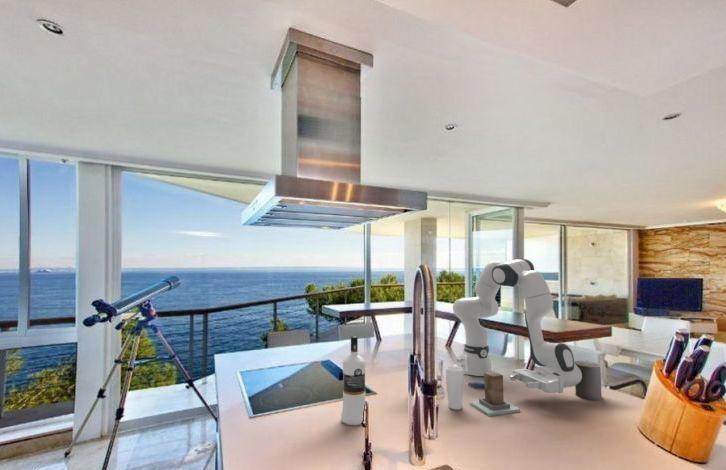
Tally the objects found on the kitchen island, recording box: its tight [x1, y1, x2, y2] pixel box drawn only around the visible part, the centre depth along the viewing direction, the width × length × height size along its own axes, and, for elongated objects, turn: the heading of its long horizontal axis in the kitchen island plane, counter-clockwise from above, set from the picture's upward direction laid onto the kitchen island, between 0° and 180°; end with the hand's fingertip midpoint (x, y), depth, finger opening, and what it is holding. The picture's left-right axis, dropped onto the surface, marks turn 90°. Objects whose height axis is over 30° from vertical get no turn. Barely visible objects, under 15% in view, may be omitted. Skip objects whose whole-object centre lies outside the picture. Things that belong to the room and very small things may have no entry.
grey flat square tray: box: [469, 397, 521, 417], centre depth 143 cm, size 12×14×2 cm
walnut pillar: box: [483, 371, 505, 405], centre depth 144 cm, size 5×5×12 cm
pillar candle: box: [574, 360, 603, 401], centre depth 156 cm, size 10×10×15 cm
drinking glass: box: [445, 365, 465, 411], centre depth 144 cm, size 7×7×15 cm
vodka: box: [340, 335, 366, 427], centre depth 132 cm, size 9×9×30 cm
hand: (518, 381), depth 147 cm, fingers open, 8 cm apart
